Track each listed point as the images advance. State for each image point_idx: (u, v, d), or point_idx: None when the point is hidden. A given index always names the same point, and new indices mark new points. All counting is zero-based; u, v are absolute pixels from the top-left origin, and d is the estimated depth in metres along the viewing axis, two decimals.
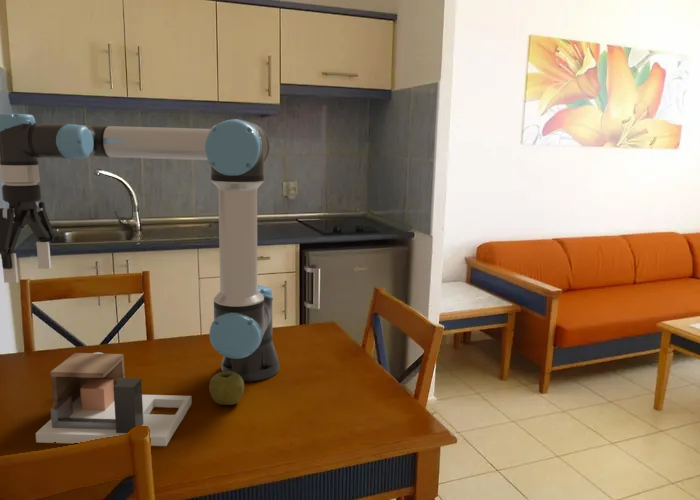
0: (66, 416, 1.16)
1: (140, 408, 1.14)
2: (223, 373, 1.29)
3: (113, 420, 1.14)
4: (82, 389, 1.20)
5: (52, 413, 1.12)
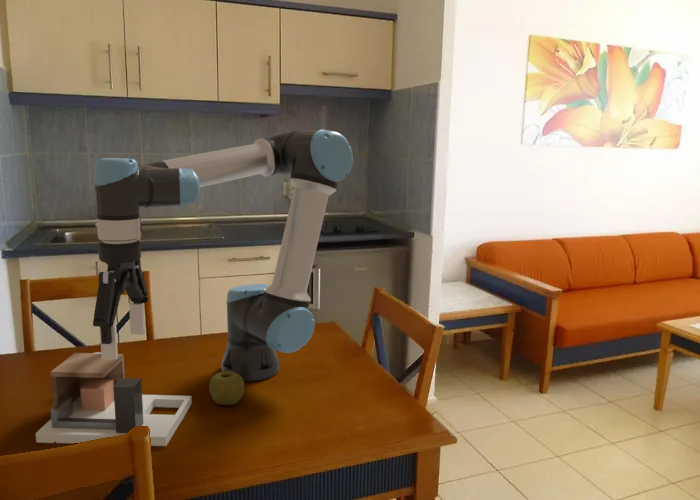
0: (66, 416, 1.16)
1: (140, 408, 1.14)
2: (223, 373, 1.29)
3: (113, 420, 1.14)
4: (82, 389, 1.20)
5: (52, 413, 1.12)
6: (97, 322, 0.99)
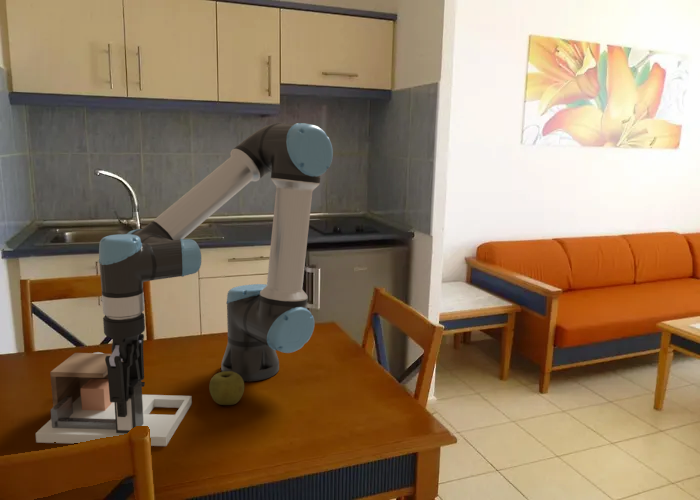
0: (66, 416, 1.16)
1: (140, 408, 1.14)
2: (223, 373, 1.29)
3: (113, 420, 1.14)
4: (82, 389, 1.20)
5: (52, 413, 1.12)
6: (113, 399, 1.06)
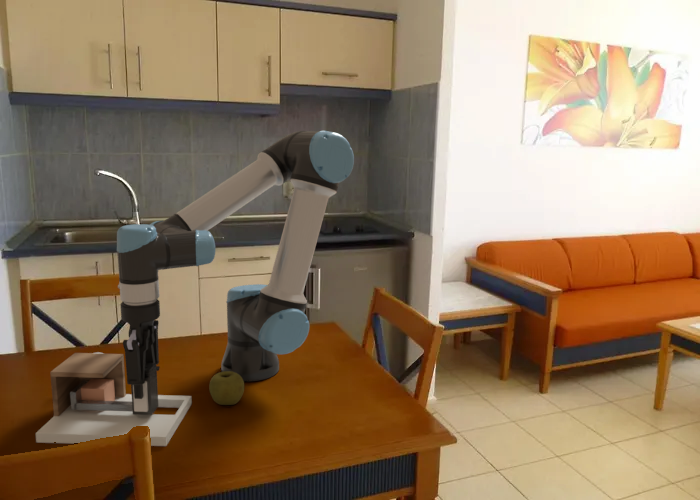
0: None
1: (155, 391, 1.19)
2: (223, 373, 1.29)
3: (129, 402, 1.19)
4: (82, 389, 1.20)
5: (71, 395, 1.18)
6: (131, 381, 1.12)
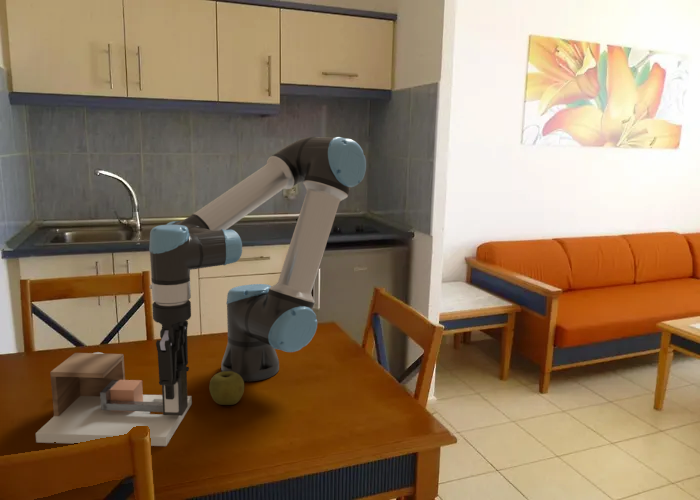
0: None
1: (185, 391, 1.19)
2: (223, 373, 1.29)
3: (159, 403, 1.19)
4: (112, 390, 1.19)
5: (101, 396, 1.17)
6: (163, 381, 1.11)
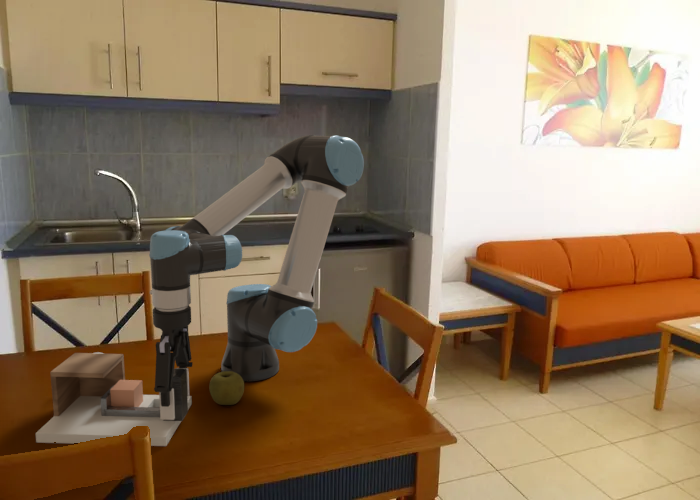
0: None
1: (185, 397, 1.19)
2: (223, 373, 1.29)
3: None
4: (112, 390, 1.19)
5: (102, 402, 1.18)
6: (158, 388, 1.09)
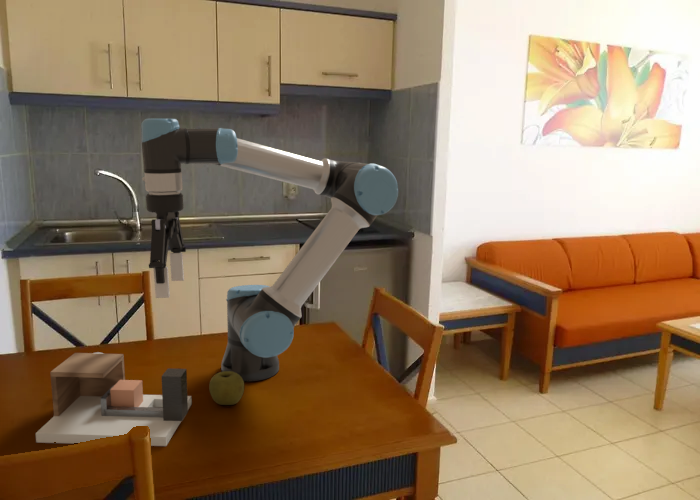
0: None
1: (185, 397, 1.19)
2: (223, 373, 1.29)
3: (160, 408, 1.19)
4: (112, 390, 1.19)
5: (102, 402, 1.18)
6: (153, 263, 1.11)
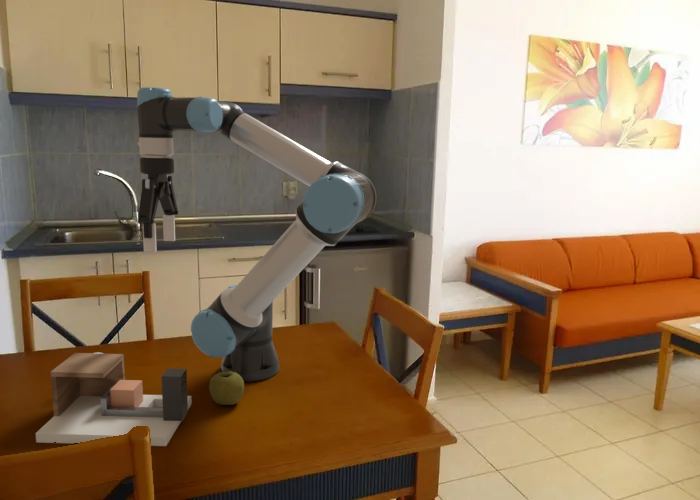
0: None
1: (185, 397, 1.19)
2: (223, 373, 1.29)
3: (160, 408, 1.19)
4: (112, 390, 1.19)
5: (102, 402, 1.18)
6: (141, 218, 1.22)
